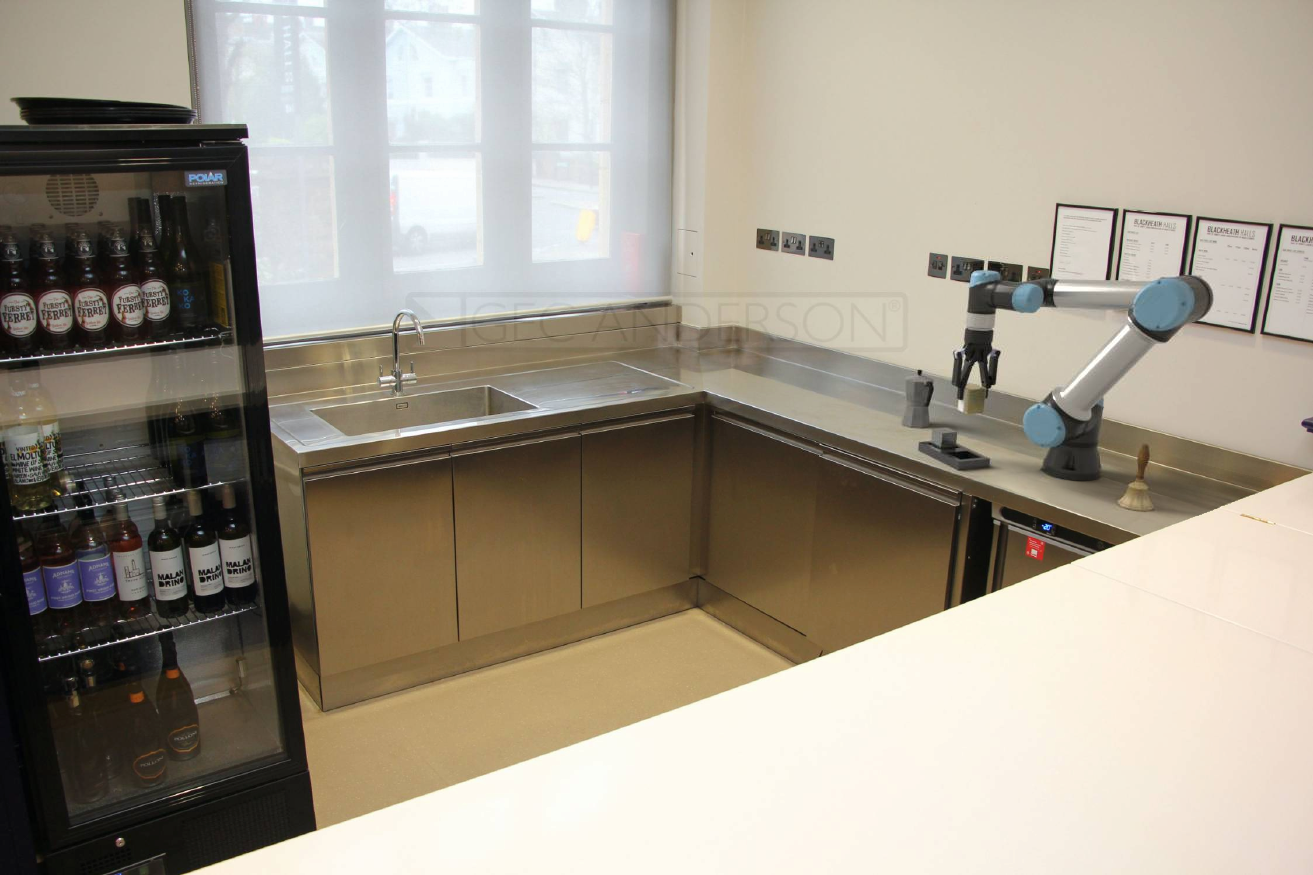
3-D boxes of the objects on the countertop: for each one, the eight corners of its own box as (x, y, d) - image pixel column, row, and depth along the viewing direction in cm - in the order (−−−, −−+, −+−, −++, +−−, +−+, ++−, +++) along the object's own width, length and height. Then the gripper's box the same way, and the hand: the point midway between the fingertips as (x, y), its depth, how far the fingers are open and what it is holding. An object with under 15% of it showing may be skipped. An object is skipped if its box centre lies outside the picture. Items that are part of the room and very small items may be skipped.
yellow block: (982, 413, 282) (985, 388, 280) (966, 414, 280) (969, 389, 278) (973, 408, 286) (976, 384, 284) (957, 409, 285) (960, 385, 283)
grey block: (955, 455, 291) (957, 431, 289) (940, 456, 289) (942, 433, 287) (945, 450, 295) (947, 427, 293) (930, 451, 294) (932, 428, 292)
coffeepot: (892, 420, 330) (896, 366, 325) (918, 418, 332) (923, 364, 327) (915, 432, 316) (919, 376, 311) (942, 431, 318) (947, 374, 313)
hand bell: (1151, 502, 255) (1160, 441, 251) (1155, 513, 247) (1165, 450, 243) (1115, 498, 258) (1124, 438, 253) (1118, 509, 250) (1127, 447, 246)
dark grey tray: (989, 469, 280) (990, 458, 279) (957, 472, 277) (959, 461, 276) (947, 449, 298) (948, 439, 298) (917, 451, 295) (918, 442, 295)
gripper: (1001, 324, 282) (992, 405, 289) (942, 326, 278) (934, 408, 284) (1016, 329, 275) (1007, 412, 282) (957, 331, 271) (948, 415, 277)
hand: (970, 410), depth 283 cm, fingers closed on yellow block, 5 cm apart
